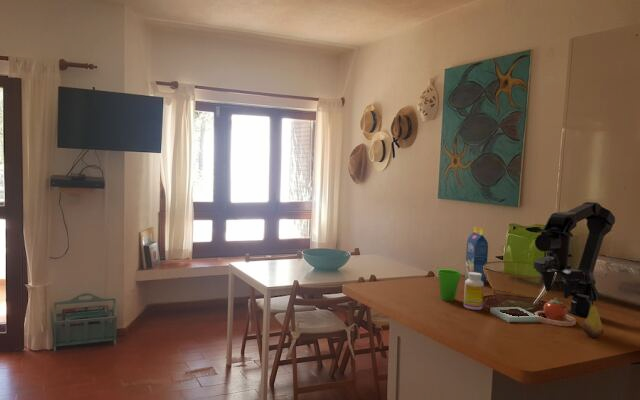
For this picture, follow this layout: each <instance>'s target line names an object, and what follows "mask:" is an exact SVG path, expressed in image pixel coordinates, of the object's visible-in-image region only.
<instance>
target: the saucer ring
mask: <svg viewBox="0 0 640 400" xmlns="http://www.w3.org/2000/svg"><path fill="white" fill-rule="evenodd" d="M540 313H544V310H538V311H535V312H534V313H533V314H535V315H537V316H539V315H538V314H540ZM539 317H540V319H539V322H541V323H544V324H547V325H553V326H557V327H558V326H559V327H572V326H574V325H576V322H577V321H576V318H575V317H574V316H571V315H570V314H568V313H567V314H566V316H565V318H564V320H562V321H556V320H551V319H548V318H547V317H546V318H545V317H543V316H542V315H540V316H539Z"/></svg>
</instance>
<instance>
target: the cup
mask: <svg viewBox="0 0 640 400" xmlns="http://www.w3.org/2000/svg"><path fill="white" fill-rule="evenodd" d="M437 273H438V281H439V282H438V283H439V291H440V298H441V300H443V301H445V302H447V301H448V302H453V301H455V300H456V295H457V290H458V286H459V283H460V278H461V274H462V272H461V271H459V270H455V269H449V268H448V269H446V268H440V269H437Z"/></svg>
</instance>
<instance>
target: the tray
mask: <svg viewBox="0 0 640 400" xmlns="http://www.w3.org/2000/svg"><path fill="white" fill-rule="evenodd" d="M509 309H518V310H520V311H523V312H524V313H527V314H528V315H529V316H519V317H518V316H512V315H509V314H506V313H502V312H500V310H509ZM489 313H490V314H492V315H493V316H495V317H498V318H499V319H501V320H503V321H505V322H507V323H509V322H519V323H540V321H539V319H540V317H539V316H537V315H534V313H532V312H530V311H528V310H526V309H524V308H522V307H518V306H517V307H514V306H512V307H509V306H508V307H490V310H489Z"/></svg>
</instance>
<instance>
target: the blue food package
mask: <svg viewBox="0 0 640 400" xmlns="http://www.w3.org/2000/svg"><path fill="white" fill-rule="evenodd" d="M488 252H489V244H488V240H487V239H486V238H485V237H484V235H483V228H479V227H476V226H474V227H473V232H472V233H471V234H470V235H469V236H468V238H467V241H466V252H465V254H466V256H465V268H464V278H465V280H467V279H469V277H468V273H469V272H476V273H480V274H482V277H481V281H483V283H484V284H486V283H487V282H486V281H487V275H486V276H485V274H484V271H483V265H484V264H485V263H487V264H488V255H489V253H488Z"/></svg>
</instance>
